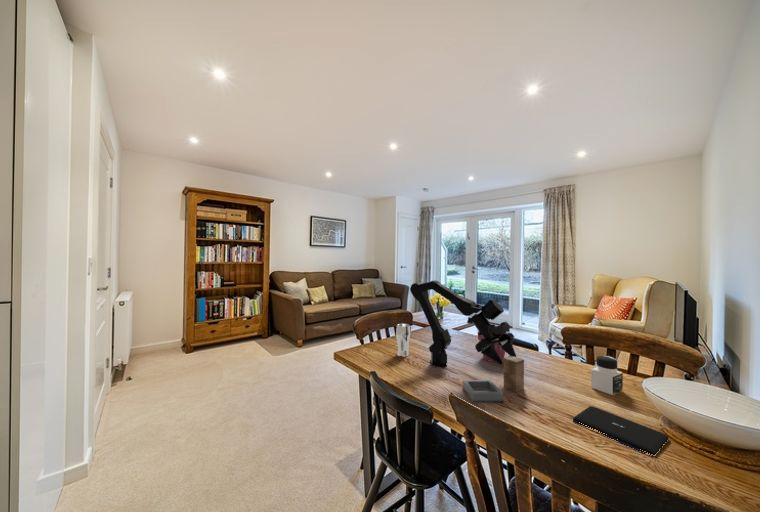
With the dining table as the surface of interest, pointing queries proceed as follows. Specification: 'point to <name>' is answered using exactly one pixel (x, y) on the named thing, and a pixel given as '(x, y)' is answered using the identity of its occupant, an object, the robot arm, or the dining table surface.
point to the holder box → (482, 391)
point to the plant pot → (497, 348)
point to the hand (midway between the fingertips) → (509, 361)
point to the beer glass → (403, 339)
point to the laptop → (622, 430)
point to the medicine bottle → (607, 376)
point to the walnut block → (514, 373)
